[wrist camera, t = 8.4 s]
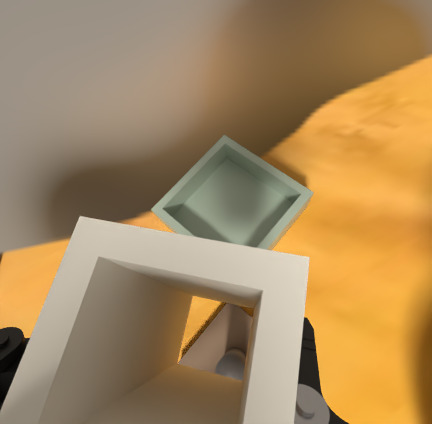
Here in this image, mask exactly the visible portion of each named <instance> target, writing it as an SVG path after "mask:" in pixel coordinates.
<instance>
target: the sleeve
mask: <svg viewBox="0 0 432 424" xmlns="http://www.w3.org/2000/svg"><path fill="white" fill-rule="evenodd" d="M309 259H310V257H305V256H299V255H294V254H288V253H282V252H277V251H271V250H266V249H260V248H255V247H249V246H243V245H238V244H232V243H227V242H221V241H215V240H210V239H204V238H199V237H193V236H188V235H182V234H176V233H171V232H165V231H160V230H154V229H148V228H143V227H137V226H132V225H126V224H120V223H115V222H109V221H104V220H98V219H93V218H87V217H81V216H80V217H79V220H78V222H77V225H76V227H75V229H74V232H73V234H72V237H71V239H70V242H69V244H68V247H67V249H66V252H65V254H64V256H63V259H62V261H61V264H60V266H59V269H58V271H57V274H56V276H55V278H54V281H53V283H52V286H51V288H50V291H49V293H48V296H47V298H46V300H45V303H44V305H43V308H42V310H41V313H40V315H39V318H38V320H37V322H36V325H35V327H34V330H33V332H32V335H31V337H30V340H29V342H28V344H27V347H26V349H25V352H24V354H23V357H22V359H21V362H20V364H19V366H18V369H17V371H16V374H15V376H14V379H13V381H12V384H11V386H10V388H9V391H8V393H7V396H6V398H5V401H4V403H3V406H2V408H1V411H0V424H294V417H295V406H296V396H297V385H298V375H299V364H300V353H301V343H302V332H303V322H304V311H305V301H306V290H307V280H308V269H309ZM193 296H197V297H202V298H206V299H211V300H216V301H220V302H225V303H229V304H234V305H238V306H243V307H247V308H252V309H254V311H253V317H252V324H251V330H250V337H249V343H248V350H247V356H246V362H245V369H244V375H243V381H241V380H237V379H234V378H230V377H226V376H222V375H219V374H215V373H211V372H208V371H204V370H200V369H196V368H193V367H189V366H185V365H182V364H178V363H177V361H178V357H179V353H180V348H181V344H182V340H183V335H184V331H185V327H186V322H187V318H188V314H189V310H190V305H191V301H192V297H193Z"/></svg>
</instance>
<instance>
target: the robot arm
mask: <svg viewBox="0 0 432 424" xmlns="http://www.w3.org/2000/svg"><path fill="white" fill-rule="evenodd" d="M29 340H30V338H24V335H23V332H22V330H20V329H19V328H16V327H7V328H2V329H0V411H1V408H2V406H3V403H4V401H5V398H6V396H7V393H8V391H9V388H10V386H11V384H12V381H13V379H14V376H15V374H16V371H17V369H18V366H19V364H20V362H21V359H22V357H23V354H24V352H25V349H26V347H27V344H28V342H29ZM294 424H349V423H347V422H345V421H344V420H342V419H341V418H339V417H338V416H337V415H336V414H335V413H334V412H333V411H332V410H331V409H330V408H329V406H328V405H327V403H326V402H325V400H324V398H323V396H322V393H321V387H320V379H319V370H318V362H317V354H316V345H315V337H314V329H313V327H312V325H311V324H310V322H309V320H308V319H307V318H305V317H304V322H303V332H302V343H301V353H300V364H299V375H298V385H297V396H296V406H295V417H294Z"/></svg>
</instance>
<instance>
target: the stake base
mask: <svg viewBox="0 0 432 424" xmlns="http://www.w3.org/2000/svg"><path fill="white" fill-rule="evenodd" d="M251 324H252V317H251V316H249V315H248V314H247V313H246V312H245V311H244V310H243V309H242V308H241V307H239V306H238V305H234V304H229V303H227V304H226V305H225V306H224V307H223V308H222V310H221V311H220V312H219V313H218V315H217V316H216V317H215V318H214V319H213V321H212V322H211V323H210V324H209V326H208V327H207V328H206V329H205V330H204V332H203V333H202V334H201V335H200V337H199V338H198V339H197V340H196V341H195V343H194V344H193V345H192V346H191V347H190V349H189V350H188V351H187V352H186V354H185V355H184V356H183V357H182V358H181V360H180V361H179V362H178V363H179V364H182V365H185V366H189V367H193V368H196V369H200V370H204V371H208V372H211V373H215V374H219V375H222V376H226V377H230V378H234V379H237V380H241V381H243V375H244V369H245V362H246V356H247V350H248V343H249V337H250V330H251Z"/></svg>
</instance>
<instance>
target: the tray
mask: <svg viewBox="0 0 432 424" xmlns="http://www.w3.org/2000/svg"><path fill="white" fill-rule="evenodd" d="M313 193H314V192H312V191H311V190H309V189H307V188H306V187H304V186H303V185H301V184H300V183H298V182H297V181H295V180H294V179H292V178H290V177H289V176H287V175H286V174H284V173H283V172H281V171H280V170H278V169H277V168H275V167H273V166H272V165H270V164H269V163H267V162H266V161H264V160H263V159H261V158H260V157H258V156H256V155H255V154H253V153H251V152H250V151H249V150H247V149H246V148H244V147H242V146H240V145H239V144H238V143H236V142H235V141H233V140H232V139H230V138H229V137H227V136H226V135H224V136H223V137H222V138H221V139H220V140H219V141H218V142H217V143H216V144H215V145H214V146H213V147H212V148H211V149H210V150H209V151H208V152H207V153H206V154H205V155H204V156H203V157H202V158H201V159H200V160H199V161H198V162H197V163H196V164H195V165H194V166H193V167H192V168H191V169H190V170H189V171H188V172H187V173H186V174H185V175H184V176H183V177H182V179H181V180H180V181H179V182H178V183H177V184H176V185H175V186H174V187H173V188H172V189H171V190H170V191H169V192H168V193H167V194H166V195H165V196H164V197H163V198H162V199H161V200H160V201H159V202H158V203H157V204H156V205H155V206H154V207H153V208H152V209H151V210H152V211H153V212H154V214H155V215H156V216H157V217H158V218H159V219H160V220H161V221H162V222H163V223H164V224H165V225H166V226H167V227H168V228H170V229H171V230H172V231H173V232H174V233H176V234H182V235H188V236H193V237H199V238H204V239H210V240H215V241H221V242H227V243H232V244H238V245H243V246H249V247H255V248H260V249H266V250H272V249H273V248H274V247H275V245H276V244H277V243H278V242H279V240H280V239H281V238H282V237H283V236H284V234H285V233H286V232H287V231H288V229H289V228H290V227H291V226H292V225H293V223H294V222H295V221H296V220H297V218H298V217H299V216H300V215H301V214H302V212H303V211H304V210H305V209H306V207H307V205H308V203H309V201H310V199H311V197H312V195H313Z"/></svg>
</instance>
